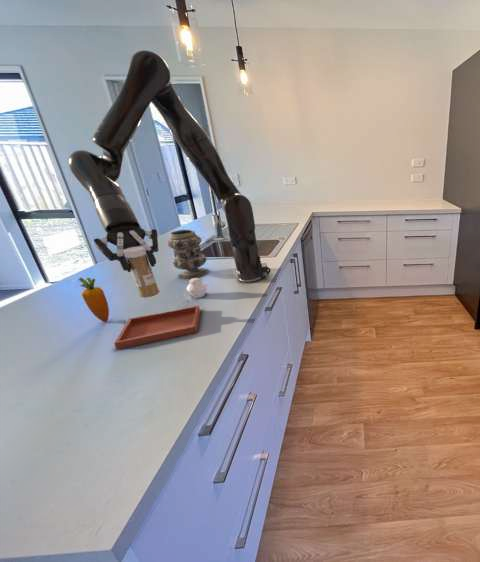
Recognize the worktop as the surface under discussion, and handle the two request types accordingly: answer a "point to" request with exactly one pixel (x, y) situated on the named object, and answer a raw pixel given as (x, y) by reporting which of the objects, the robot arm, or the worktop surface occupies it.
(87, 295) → the carrot
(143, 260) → the sprinkles bottle
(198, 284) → the white rounded lump
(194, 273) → the ornate carved vase
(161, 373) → the worktop surface
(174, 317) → the tray
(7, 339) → the worktop surface
